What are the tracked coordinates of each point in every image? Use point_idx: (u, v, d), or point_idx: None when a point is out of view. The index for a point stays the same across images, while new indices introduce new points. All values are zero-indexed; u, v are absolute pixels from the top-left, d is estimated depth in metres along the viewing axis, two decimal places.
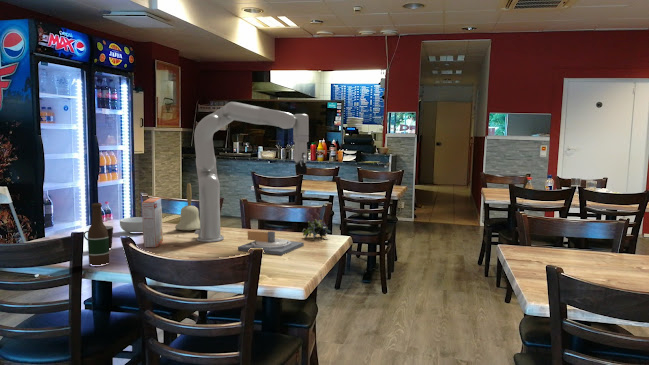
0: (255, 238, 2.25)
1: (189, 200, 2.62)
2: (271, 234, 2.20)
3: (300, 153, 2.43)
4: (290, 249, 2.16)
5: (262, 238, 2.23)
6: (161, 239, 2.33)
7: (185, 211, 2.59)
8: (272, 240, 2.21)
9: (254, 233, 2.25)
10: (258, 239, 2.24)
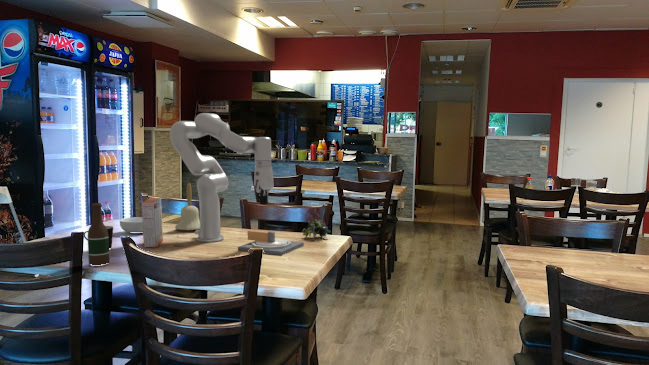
0: (255, 238, 2.25)
1: (189, 200, 2.62)
2: (271, 234, 2.20)
3: None
4: (290, 249, 2.16)
5: (262, 238, 2.23)
6: (161, 239, 2.33)
7: (185, 211, 2.59)
8: (272, 240, 2.21)
9: (254, 233, 2.25)
10: (258, 239, 2.24)
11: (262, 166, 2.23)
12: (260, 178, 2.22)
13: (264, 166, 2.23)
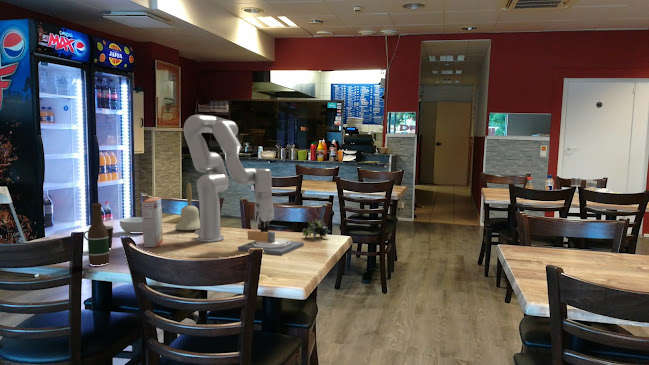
0: (255, 238, 2.25)
1: (189, 200, 2.62)
2: (271, 234, 2.20)
3: None
4: (290, 249, 2.16)
5: (262, 238, 2.23)
6: (161, 239, 2.33)
7: (185, 211, 2.59)
8: (272, 240, 2.21)
9: (254, 233, 2.25)
10: (258, 239, 2.24)
11: (262, 198, 2.24)
12: (260, 210, 2.23)
13: (264, 198, 2.24)
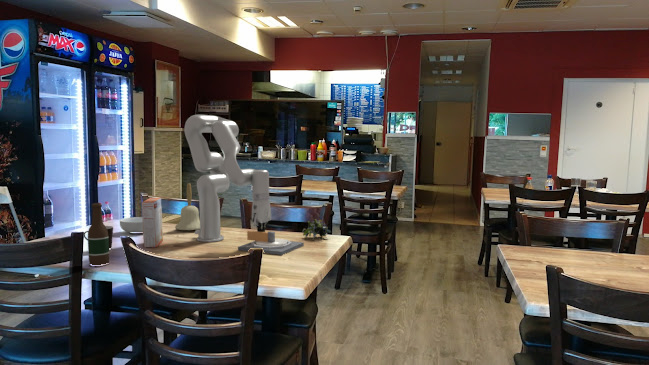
0: (255, 238, 2.25)
1: (189, 200, 2.62)
2: (271, 234, 2.20)
3: None
4: (290, 249, 2.16)
5: (262, 238, 2.23)
6: (161, 239, 2.33)
7: (185, 211, 2.59)
8: (272, 240, 2.21)
9: (254, 233, 2.25)
10: (258, 239, 2.24)
11: (260, 199, 2.22)
12: (258, 212, 2.21)
13: (262, 199, 2.22)
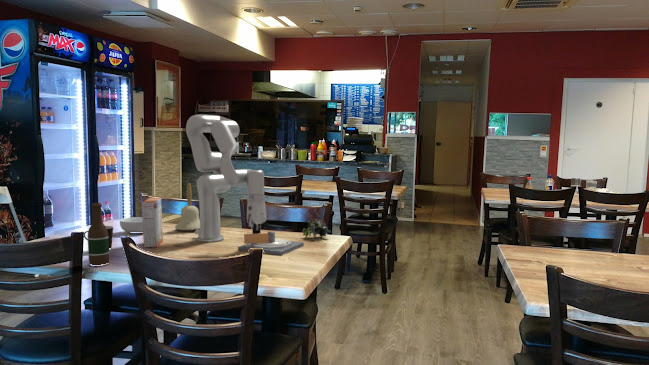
0: (254, 241, 2.19)
1: (189, 200, 2.62)
2: (273, 234, 2.21)
3: None
4: (290, 249, 2.16)
5: (262, 239, 2.20)
6: (161, 239, 2.33)
7: (185, 211, 2.59)
8: (274, 240, 2.22)
9: (252, 236, 2.19)
10: (257, 241, 2.20)
11: (255, 200, 2.18)
12: (253, 213, 2.17)
13: (257, 200, 2.18)
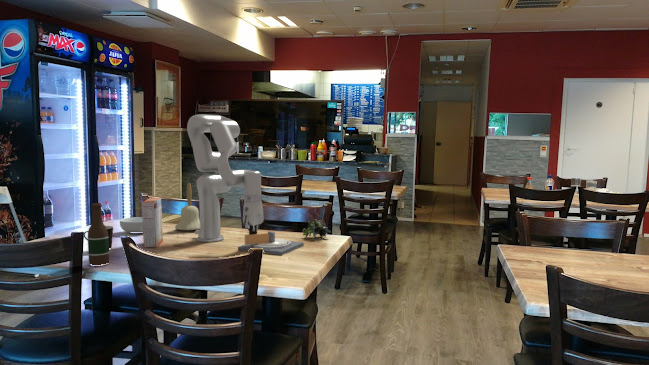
0: (254, 241, 2.18)
1: (189, 200, 2.62)
2: (274, 234, 2.21)
3: None
4: (290, 249, 2.16)
5: (263, 240, 2.20)
6: (161, 239, 2.33)
7: (185, 211, 2.59)
8: (274, 240, 2.22)
9: (253, 236, 2.18)
10: (258, 242, 2.19)
11: (251, 201, 2.16)
12: (249, 214, 2.15)
13: (253, 201, 2.16)
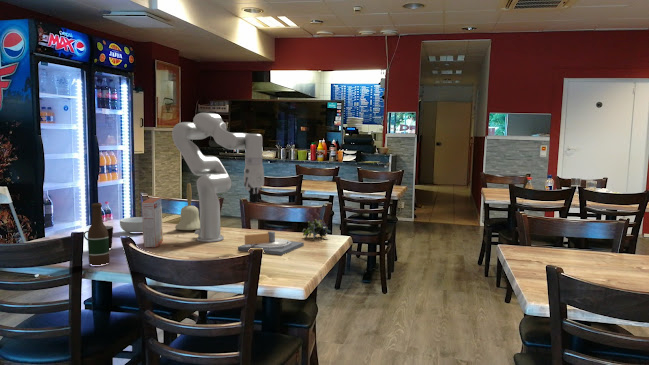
0: (254, 241, 2.18)
1: (189, 200, 2.62)
2: (274, 234, 2.21)
3: None
4: (290, 249, 2.16)
5: (263, 240, 2.20)
6: (161, 239, 2.33)
7: (185, 211, 2.59)
8: (274, 240, 2.22)
9: (253, 236, 2.18)
10: (258, 242, 2.19)
11: (252, 164, 2.18)
12: (250, 176, 2.17)
13: (254, 164, 2.18)
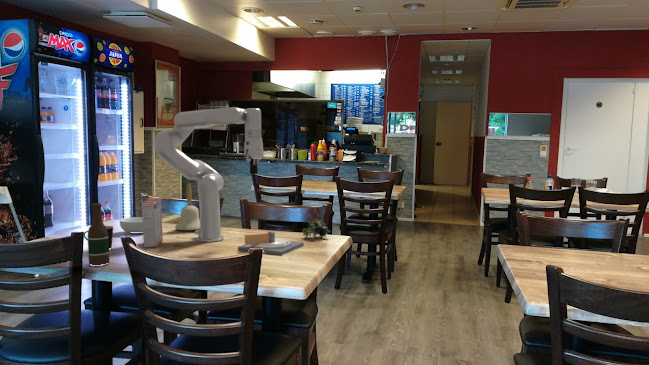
0: (254, 241, 2.18)
1: (189, 200, 2.62)
2: (274, 234, 2.21)
3: None
4: (290, 249, 2.16)
5: (263, 240, 2.20)
6: (161, 239, 2.33)
7: (185, 211, 2.59)
8: (274, 240, 2.22)
9: (253, 236, 2.18)
10: (258, 242, 2.19)
11: (252, 136, 2.31)
12: (250, 147, 2.30)
13: (254, 136, 2.31)
